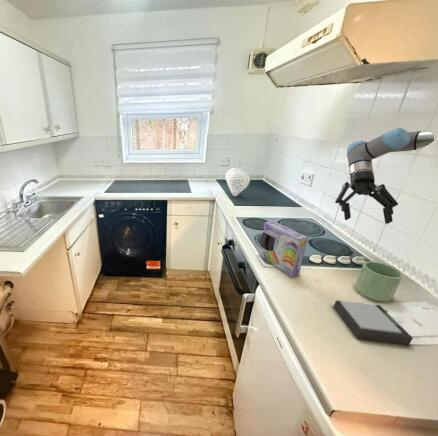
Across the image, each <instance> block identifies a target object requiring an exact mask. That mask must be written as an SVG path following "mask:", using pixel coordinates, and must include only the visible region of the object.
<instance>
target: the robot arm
mask: <svg viewBox="0 0 438 436" xmlns="http://www.w3.org/2000/svg"><path fill="white" fill-rule="evenodd" d="M425 131H426V130H417V131H407V130H406V129H404V128H403V127H396V128H394V129H392V130H388V131H386V132H385V133H383V134H382V135H380V136H377V137H376V138H373V139H372V140H370V141H365V140H359V141H355V142H352V143H351V144H350V145H348V146H347V148H346V152H347V153H346V157H347V162H348V172H349V180H350V182H348V181H346V182H345V183H343V184H342V187H341V188H342V189H341V191H340V193H339V194H338V196H337V197H336V199H335V201H334V203H335V204H338V205H339V206H340V210H341V212H342V213H343V215H344V216H343V217H344V221H348V220H349V219H351V218H352V215H351V207H350V202H349V200H351V199H352V198H353V197H354V196H355V195H356V194H357V195H358V196H369V197H370V198H372V199H373V200H375V201H376V202H377V203H379V204H380V205H381V206H382V207H383V208H382V212H383V218H384V223H385V225H386V224H387V225H388V224H390V223H393V216H392V215H394V209H393V208H395V207H397V206H399V203H398V201H397V200H396V199H395V198H394V196H393V195H392V194H391V193H390V192H389V190H388V189H387V187H386V185H385V184H383V183H382V184H380V185H376V184H375V182H376V181H375V180H376V179H375V174H374V168H373V160H374V159H377V158H379V157H382V156H384V155H387V154H389V153H398V152H399V153H400V152H413V151H412V150H416V149H421V148H423V147H425V146H427V145H429V144H430V143H432V142H433V141H434V135H433V134H432V133H430V132H425ZM416 151H417V150H416ZM348 189H351V190H352V192H350V193H349V194H348V196H346V197H345V195H346V193H347V192H348ZM344 197H345V198H344ZM343 198H344V199H343Z"/></svg>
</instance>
